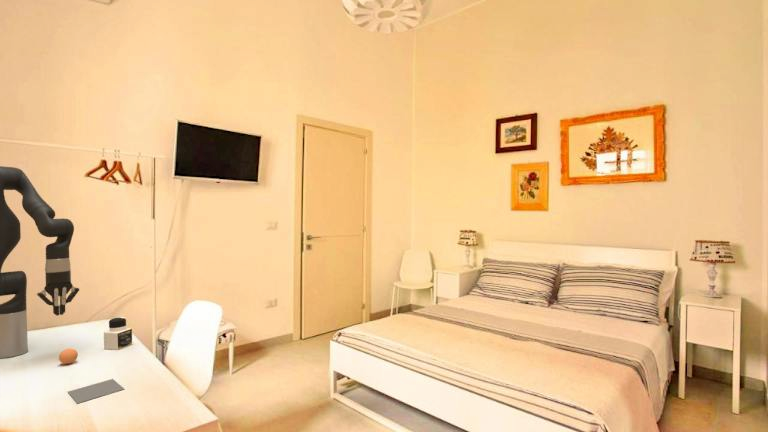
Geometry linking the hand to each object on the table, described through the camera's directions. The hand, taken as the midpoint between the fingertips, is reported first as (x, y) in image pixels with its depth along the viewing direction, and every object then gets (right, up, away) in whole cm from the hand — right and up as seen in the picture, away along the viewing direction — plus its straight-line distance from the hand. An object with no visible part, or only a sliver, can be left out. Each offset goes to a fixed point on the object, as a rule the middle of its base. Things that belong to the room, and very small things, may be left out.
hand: (59, 314), depth 153 cm
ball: (+8, -14, -5) cm, 17 cm away
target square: (+35, -17, -29) cm, 49 cm away
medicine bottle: (+14, -17, +13) cm, 25 cm away
